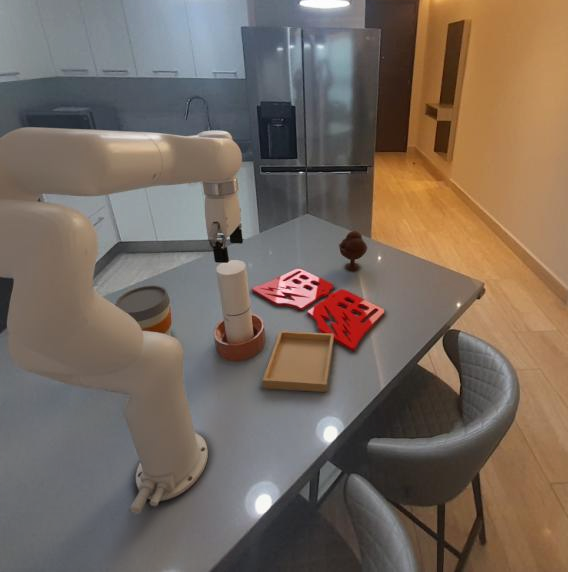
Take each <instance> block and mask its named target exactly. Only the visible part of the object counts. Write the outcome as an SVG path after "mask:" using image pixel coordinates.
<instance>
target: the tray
mask: <svg viewBox="0 0 568 572" xmlns="http://www.w3.org/2000/svg"><path fill="white" fill-rule="evenodd" d="M334 342H335V341H334V334H328V333H321V332H311V331H310V332H309V331H296V330H295V331H292V330H279V332H278V335H277V338H276V340H275V343H274V346H273V349H272V351H271V355H270V357H269V360H268V364H267V366H266V369H265V371H264V374H263V377H262V388H263V389H273V390H274V389H275V390H288V391H289V390H291V391H304V392H305V391H306V392H317V393H327V392H328V384H329V377H330V372H331V371H330V370H331V363H332V357H333V350H334Z"/></svg>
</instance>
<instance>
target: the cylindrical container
mask: <svg viewBox="0 0 568 572" xmlns="http://www.w3.org/2000/svg"><path fill="white" fill-rule="evenodd" d="M215 271H216V277H217V284H218V290H219V296H220V297H219V298H220V303H221V304H220V305H221V310H222V317H223V319H224V324H225V330H226V337H227V344H238V343H243V342H246V341H249V340H250V339H252V338H254V334H253V325H252V316H251V313H252V308H251V299H250V291H249V282H248V281H249V280H248V273H247V272H248V271H247V265H246V263H245V261H242V260H239V259H231V260H230V259H229V262H228V263H220V264H219V263H218V265H217V266H216V267H215Z"/></svg>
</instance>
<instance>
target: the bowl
mask: <svg viewBox="0 0 568 572" xmlns="http://www.w3.org/2000/svg"><path fill="white" fill-rule="evenodd" d="M251 316H252V325H253V334H254V338H252V339H250V340H249V341H246V342H243V343H238V344H227V337H226V330H225V324H224V318H222V319H221V320H220V321H219V322H218V323H216V325H215V327H214V330H213V340H214V345H215V351H216V354H217V355H218V357H220V358H221V360H224V361H227V362H230V363H231V362H232V363H237V362H238V363H239V362H244V361H247V360H250V359H252V358H254V357H256V356H257V355H258V354H259V353H261V351H262V350H263V349H264V348H265V344H266V331H265V322H264V320H263V318H262V317H261V316H259V315H258V314H255V313H252V312H251Z"/></svg>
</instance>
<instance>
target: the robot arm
mask: <svg viewBox="0 0 568 572" xmlns="http://www.w3.org/2000/svg"><path fill="white" fill-rule="evenodd" d="M242 155H243V154H242V151H241V149H240V146H239V145H238V143H236V141H234V140H233V136H232V134H231V133H229V132H228V131H226V130H215V129H214V130H213V129H211V130H204V131H201V132H199V133H197V134H194V135H185V136H184V135H180V134H179V135H178V134H171V133H162V132H149V131H127V130H108V129H107V130H104V129H87V128H85V129H83V128H82V129H81V128H62V127H61V128H59V127H38V126H37V127H35V126H27V127H25V126H24V127H19V128H16V129H14V130H11V131H9V132H8V133H6V134H4V135H3V136H0V278H6V279H13V283H12V284H13V285H12V291H11V294H10V299H9V304H8V305H9V306H8V311H7V319H6V328H7V332H8V334H9V335H8V340H7V349H8V353H9V356H10V358H11V360H12V361H13V362H14V363H15V365H17V366H18V368H20V369H22V370H24V371H26V372H30V373H32V374H35V375H38V376H41V377H45V378H47V379H50V380H54V381H56V382H59V383H64V384H67V385H70V386H74V387H77V388H78V387H80V388H84V389H93V390H100V391H107V392H108V391H109V392H112V393H113V392H114V393H120V394H123V395H128V397H129V398H128V400H127V401H126V404H125V406H124V413H123V414H124V420H125V423H126V425H127V428H128V430H129V433H130V436H131V439H132V442H133V445H134V448H135V451H136V454H137V456H138V460H139V463H138V466H137V468H136V472H135V485H136V487H137V490H138V493H137V495H136V497H134V500H133V502H132V504H131V505H130V506H129V512H131V513H132V514H135V515H139V514H140V513H142V511H143V509H144V507H145V505H146V504H147V502H148V501H147V500H149V505H150V506H152V507H157V506H158V505H159V503H160V501H161V502H162V501H166V500H167V501H168V500H170V499H173V498H176V497H178V496H179V495H182V494H183V493H184V492H186V491H187V490H189V489H190V488H191V487H192V486H193V485H194V484H196V482H197V481H198V479H199V478H200V477H201V475H202V474H203V472H204V470H205V467H206V465H207V461H208V458H209V450H208V445H207V442H206V441H205V439H204V437H202V436H201V435H200V434H199V433H197V432H195V428H194V424H193V419H192V414H191V411H190V406H189V402H188V397H187V393H186V388H185V384H184V374H183V373H184V372H183V371H184V370H183V369H184V350H183V346H182V344H181V342H180V340H178V339H177V338H176V337H174V336H172V335H171V336H169V335H167V334H163V333H158V332H150V331H142V329H141V327H140V325H139V324H138V323H137V322H136V320H135V319H134V318H133V317H131V316H130V315H129V314H127V313H126V312H124V311H123V310H121V309H120V308H118V307H117V306H115V304H114V303H112V302H111V301H110V300H108V299H107V298H105V297H103V296H102V295H101V294H99V292H97V290H95V289H94V275H95V269H96V263H97V258H98V253H99V238H98V233H97V231H96V229H95V226H94V224H93V223H92V221H90V218H88V217H87V216H86V215H85V214H84V213H82V212H81V211H79V210H77V209H75V208H74V207H70V206H66V205H63V204H59V203H56V202H47V201H39V199H40V198H41V197H42V195H57V196H58V195H59V196H72V197H101V196H107V195H113V194H119V193H125V192H131V191H135V190H141V189H147V188H152V187H159V186H160V187H161V186H163V187H164V186H176V185H178V186H179V185H185V184H192V183H201V184H202V189H203V194H204V217H205V227H206V234H207V241H208V243H209V245H210V247H211V249H212V252H213V259H214V262H215V263H218V264H219V263H220V264H221V263H228V262H229V261H230V258H229V251H228V246H226V244H227V238H229V242H230V244H240V245H242V244H243V243H244V238H243V230H242V223H241V221H242V215H241V214H242V213H241V212H242V211H241V207H240V201H239V195H238V194H239V183H238V182H239V181H238V172H239V171H240V169H241V167H242V163H243V156H242ZM218 239H221V242H220V241H219V240H218Z"/></svg>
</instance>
